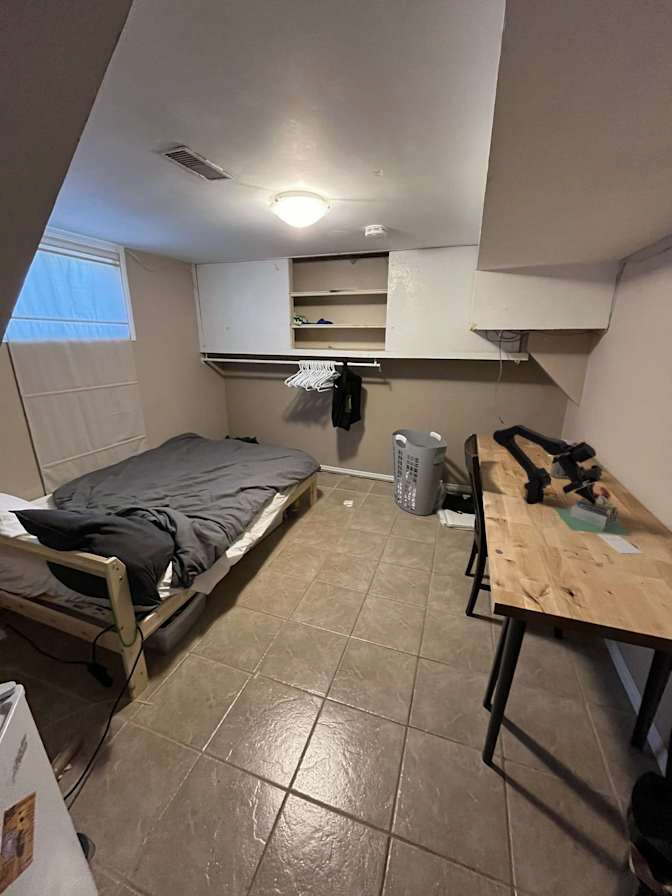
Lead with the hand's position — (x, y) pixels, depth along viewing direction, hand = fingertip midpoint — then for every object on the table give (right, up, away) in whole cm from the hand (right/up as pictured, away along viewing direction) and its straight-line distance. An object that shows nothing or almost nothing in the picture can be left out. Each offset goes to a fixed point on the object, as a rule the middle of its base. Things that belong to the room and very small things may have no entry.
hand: (594, 503), depth 142 cm
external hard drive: (-2, -14, -14) cm, 20 cm away
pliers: (+20, -1, +29) cm, 35 cm away
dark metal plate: (0, -1, 0) cm, 1 cm away
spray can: (+18, +6, +53) cm, 57 cm away
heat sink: (0, -7, +2) cm, 7 cm away
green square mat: (-1, -8, +2) cm, 8 cm away
